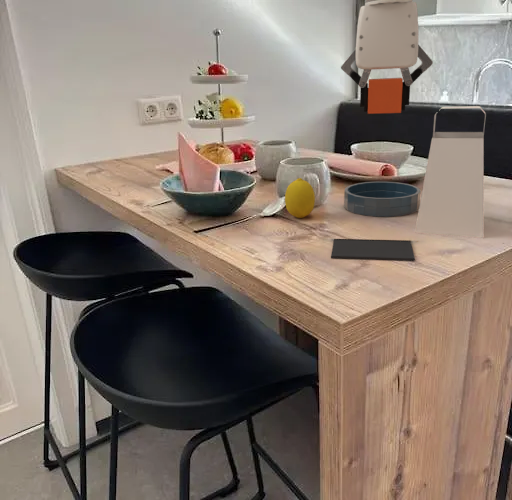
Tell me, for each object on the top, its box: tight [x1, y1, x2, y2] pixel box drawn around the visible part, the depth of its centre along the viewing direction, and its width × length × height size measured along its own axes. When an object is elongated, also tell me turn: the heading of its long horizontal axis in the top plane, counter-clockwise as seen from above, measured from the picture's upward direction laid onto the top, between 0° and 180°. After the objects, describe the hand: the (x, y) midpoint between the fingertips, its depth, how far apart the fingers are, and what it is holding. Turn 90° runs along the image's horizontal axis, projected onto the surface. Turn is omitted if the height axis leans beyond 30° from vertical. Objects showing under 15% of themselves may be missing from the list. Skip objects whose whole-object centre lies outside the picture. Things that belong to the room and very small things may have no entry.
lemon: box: [284, 177, 316, 219], centre depth 93 cm, size 6×6×8 cm
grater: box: [414, 105, 487, 239], centre depth 82 cm, size 10×10×20 cm
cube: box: [367, 77, 404, 115], centre depth 87 cm, size 6×6×6 cm
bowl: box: [343, 181, 422, 218], centre depth 98 cm, size 14×14×4 cm
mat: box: [330, 238, 416, 262], centre depth 77 cm, size 12×9×1 cm
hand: (384, 109), depth 87 cm, fingers closed on cube, 5 cm apart
